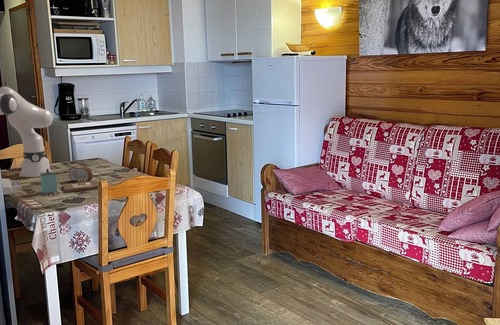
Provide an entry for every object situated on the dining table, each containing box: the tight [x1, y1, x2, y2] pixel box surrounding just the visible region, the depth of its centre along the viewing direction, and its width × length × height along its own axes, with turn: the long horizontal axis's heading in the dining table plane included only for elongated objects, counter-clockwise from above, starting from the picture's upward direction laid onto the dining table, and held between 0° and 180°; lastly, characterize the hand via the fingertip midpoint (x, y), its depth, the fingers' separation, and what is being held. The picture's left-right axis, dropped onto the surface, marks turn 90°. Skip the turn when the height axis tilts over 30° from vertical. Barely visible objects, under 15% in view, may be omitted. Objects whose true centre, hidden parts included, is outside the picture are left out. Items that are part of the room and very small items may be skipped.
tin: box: [67, 165, 94, 182], centre depth 279 cm, size 15×3×8 cm, turn 68°
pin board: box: [61, 178, 99, 194], centre depth 265 cm, size 14×18×5 cm
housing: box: [39, 169, 58, 195], centre depth 257 cm, size 5×7×12 cm
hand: (21, 184), depth 251 cm, fingers open, 8 cm apart
